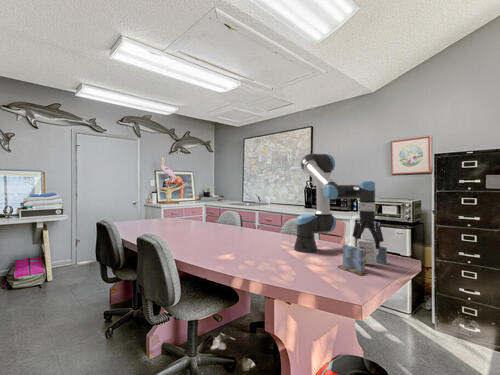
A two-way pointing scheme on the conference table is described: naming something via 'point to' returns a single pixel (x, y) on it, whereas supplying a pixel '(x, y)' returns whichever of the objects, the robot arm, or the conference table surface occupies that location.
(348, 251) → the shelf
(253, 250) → the conference table surface
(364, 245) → the ink box
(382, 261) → the bookend
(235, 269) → the conference table surface
